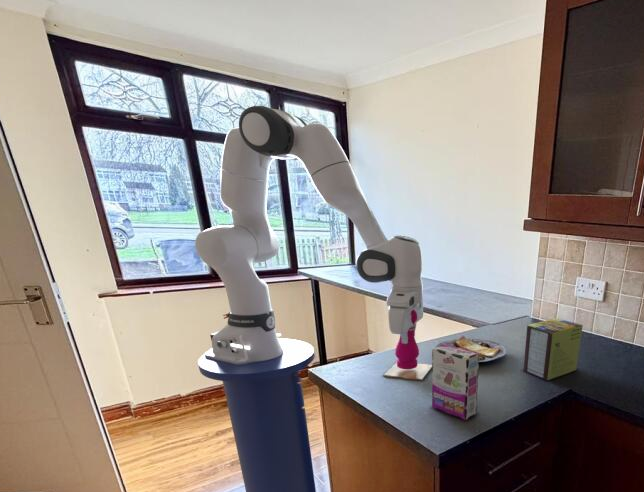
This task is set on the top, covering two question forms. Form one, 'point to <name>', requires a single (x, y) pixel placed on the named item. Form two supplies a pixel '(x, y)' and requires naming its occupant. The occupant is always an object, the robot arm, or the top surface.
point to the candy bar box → (455, 381)
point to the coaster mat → (409, 372)
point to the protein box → (552, 348)
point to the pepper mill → (408, 348)
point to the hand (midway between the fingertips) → (408, 340)
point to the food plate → (478, 347)
